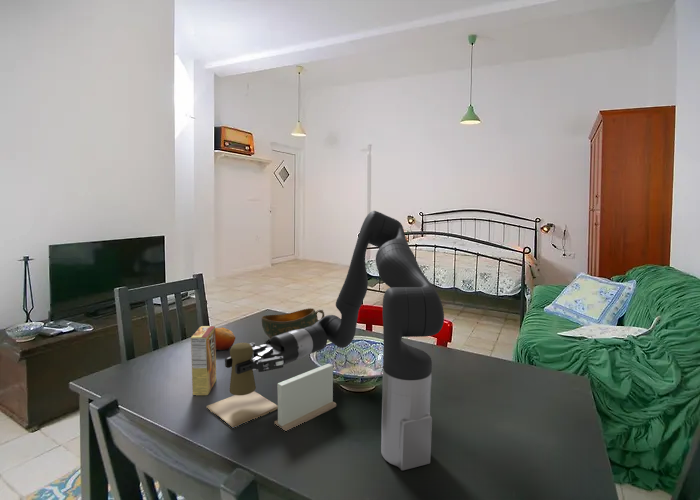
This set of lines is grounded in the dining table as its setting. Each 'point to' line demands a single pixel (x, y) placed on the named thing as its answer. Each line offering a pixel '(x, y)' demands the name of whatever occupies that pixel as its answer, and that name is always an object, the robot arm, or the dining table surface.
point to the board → (242, 408)
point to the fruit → (224, 338)
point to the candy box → (203, 360)
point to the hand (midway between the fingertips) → (231, 366)
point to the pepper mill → (245, 380)
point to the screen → (305, 397)
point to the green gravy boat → (289, 321)
